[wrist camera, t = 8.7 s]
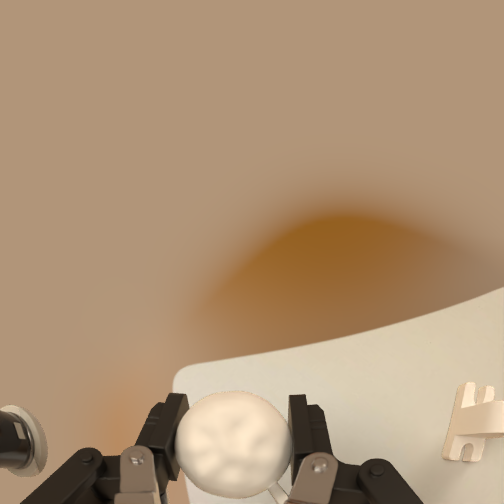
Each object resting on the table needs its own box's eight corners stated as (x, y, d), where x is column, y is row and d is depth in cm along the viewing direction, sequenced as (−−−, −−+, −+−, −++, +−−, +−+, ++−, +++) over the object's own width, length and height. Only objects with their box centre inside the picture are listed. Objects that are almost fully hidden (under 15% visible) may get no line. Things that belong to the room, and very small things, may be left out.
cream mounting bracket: (440, 458, 26) (487, 461, 18) (458, 383, 31) (505, 365, 22) (471, 461, 25) (520, 461, 16) (487, 389, 29) (535, 372, 21)
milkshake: (249, 493, 15) (237, 546, 7) (193, 433, 17) (135, 434, 9) (304, 449, 17) (342, 466, 8) (247, 391, 19) (235, 358, 10)
